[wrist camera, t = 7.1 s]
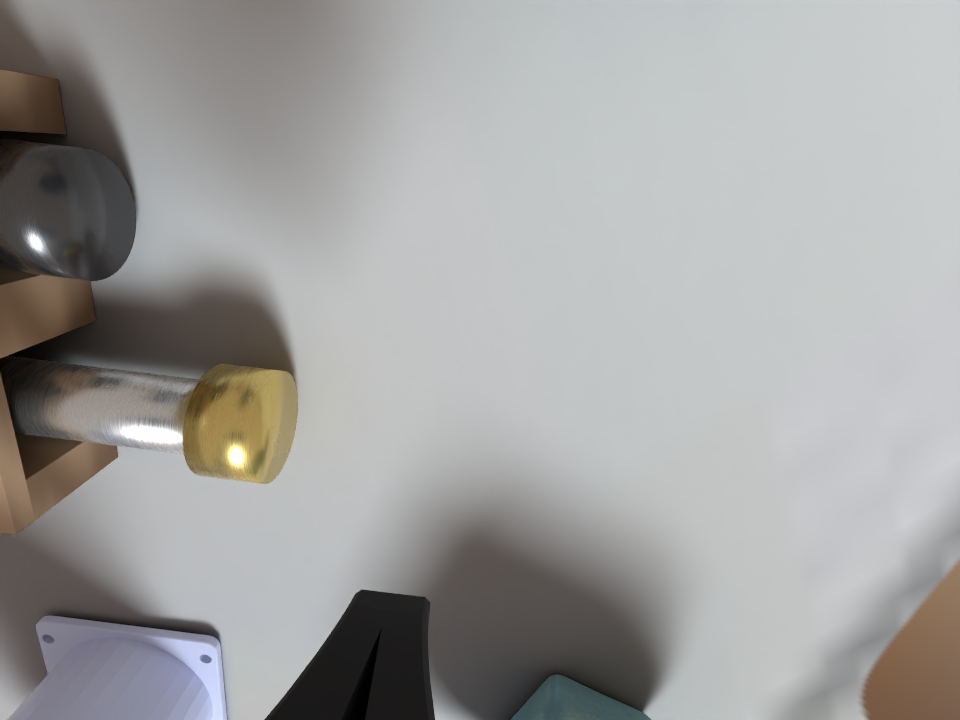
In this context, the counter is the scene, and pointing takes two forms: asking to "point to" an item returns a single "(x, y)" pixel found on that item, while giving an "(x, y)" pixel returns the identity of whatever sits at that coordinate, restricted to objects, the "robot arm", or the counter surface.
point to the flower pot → (573, 703)
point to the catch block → (38, 339)
